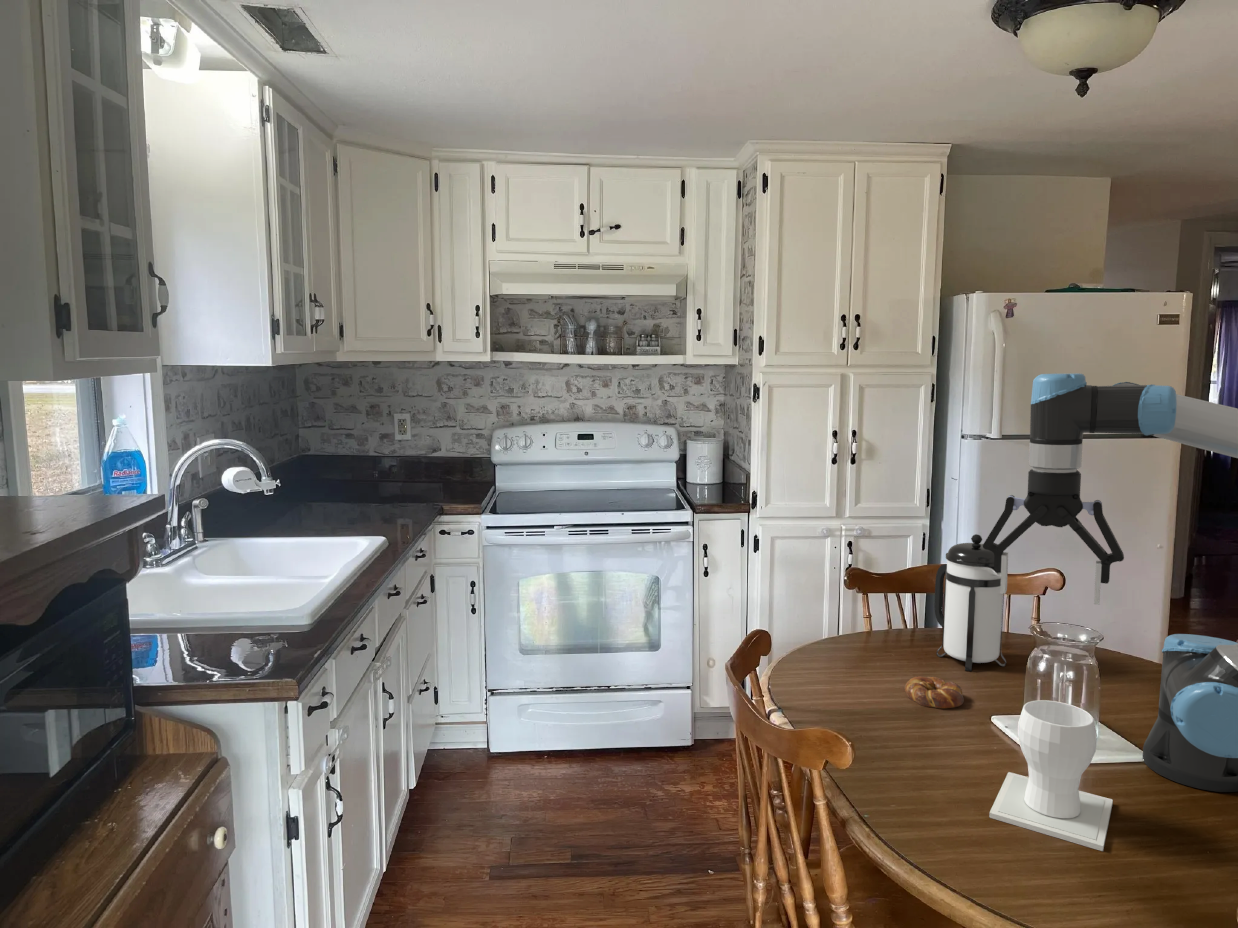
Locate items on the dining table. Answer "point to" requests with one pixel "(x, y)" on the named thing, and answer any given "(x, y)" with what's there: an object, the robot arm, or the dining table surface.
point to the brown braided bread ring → (934, 692)
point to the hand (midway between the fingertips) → (1049, 596)
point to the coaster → (1078, 830)
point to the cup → (1055, 755)
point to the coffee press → (970, 604)
